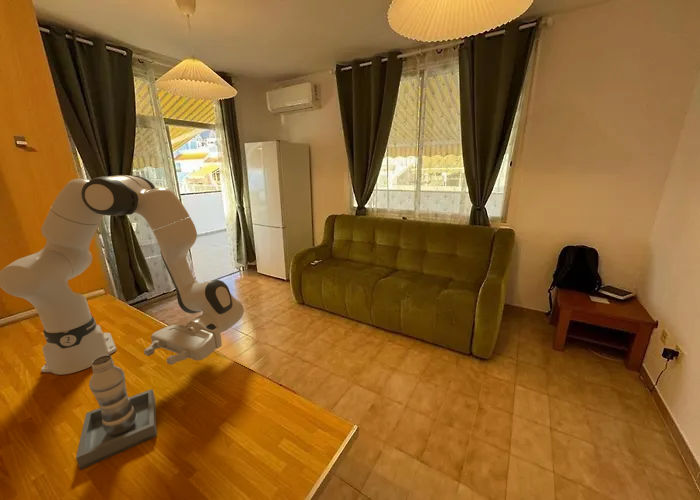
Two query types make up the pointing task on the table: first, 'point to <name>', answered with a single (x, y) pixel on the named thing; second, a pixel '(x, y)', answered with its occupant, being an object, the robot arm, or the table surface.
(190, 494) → the table surface
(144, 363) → the table surface
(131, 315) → the table surface
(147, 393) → the box
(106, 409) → the plastic bottle
